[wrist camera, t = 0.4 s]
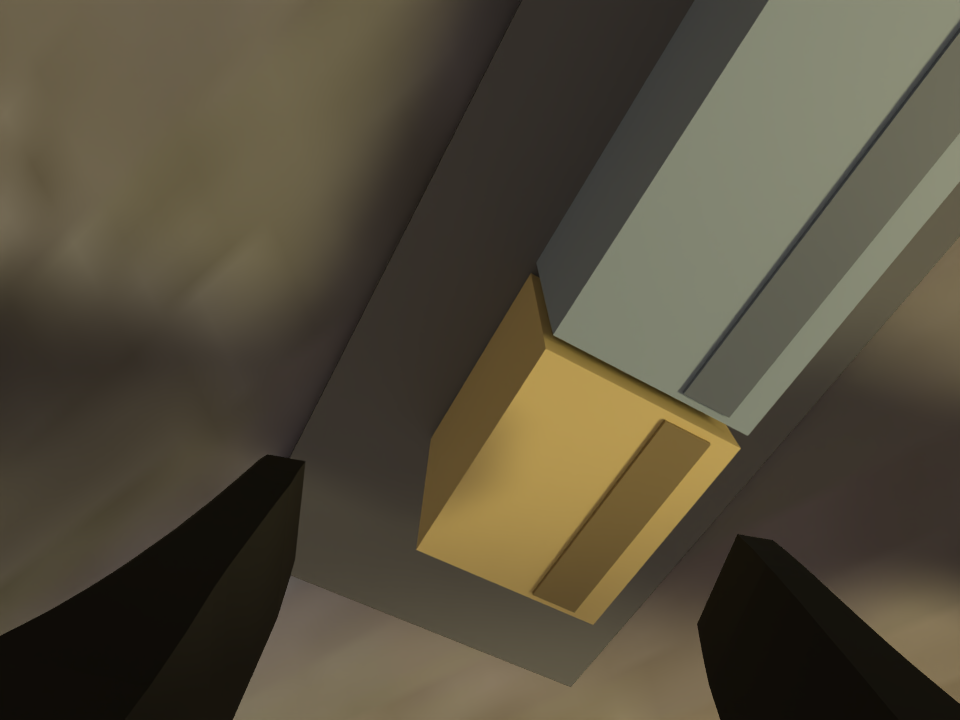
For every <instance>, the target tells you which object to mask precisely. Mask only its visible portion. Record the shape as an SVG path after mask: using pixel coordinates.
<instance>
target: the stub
mask: <svg viewBox="0 0 960 720" xmlns="http://www.w3.org/2000/svg"><path fill="white" fill-rule="evenodd" d="M740 449H741V448H740V446H739V445H738V443H737V442H736V440H735V438H734V437H733V435H732V434H731V432H730V430H729V429H728V427H727V426H726V424H724V423H722V422H720V421H718V420H716V419H714V418H712V417H710V416H708V415H706V414H705V413H703V412H701V411H699V410H697V409H695V408H693V407H691V406H689V405H687V404H685V403H683V402H681V401H679V400H677V399H676V398H674V397H672V396H670V395H668V394H666V393H664V392H662V391H660V390H658V389H656V388H654V387H652V386H650V385H648V384H647V383H645V382H643V381H641V380H639V379H637V378H635V377H633V376H631V375H629V374H627V373H625V372H623V371H621V370H620V369H618V368H616V367H614V366H612V365H610V364H608V363H606V362H604V361H602V360H600V359H598V358H596V357H594V356H592V355H591V354H589V353H587V352H585V351H583V350H581V349H579V348H577V347H575V346H573V345H571V344H569V343H567V342H565V341H563V340H562V339H560V338H558V337H556V336H554V335H553V333H552V328H551V324H550V320H549V316H548V311H547V307H546V303H545V298H544V294H543V290H542V285H541V281H540V278H539V277H537V276H535V275H533V274H532V273H531V274H530V275H529V277H528V279H527V280H526V282H525V284H524V285H523V287H522V289H521V290H520V292H519V294H518V295H517V297H516V299H515V300H514V302H513V303H512V305H511V307H510V308H509V310H508V312H507V313H506V315H505V317H504V318H503V320H502V322H501V323H500V325H499V327H498V328H497V330H496V332H495V333H494V335H493V337H492V338H491V340H490V342H489V343H488V345H487V347H486V348H485V350H484V352H483V353H482V355H481V356H480V358H479V360H478V361H477V363H476V365H475V366H474V368H473V370H472V371H471V373H470V375H469V376H468V378H467V380H466V381H465V383H464V385H463V386H462V388H461V390H460V391H459V393H458V395H457V396H456V398H455V400H454V401H453V403H452V405H451V406H450V408H449V409H448V411H447V413H446V414H445V416H444V418H443V419H442V421H441V423H440V424H439V426H438V428H437V429H436V431H435V433H434V434H433V436H432V438H431V441H430V449H429V456H428V464H427V472H426V479H425V487H424V494H423V502H422V509H421V517H420V525H419V532H418V540H417V547H416V550H418V551H420V552H423V553H425V554H427V555H430V556H432V557H434V558H437V559H439V560H441V561H444V562H446V563H448V564H451V565H453V566H455V567H458V568H460V569H463V570H465V571H467V572H470V573H472V574H474V575H477V576H479V577H481V578H484V579H486V580H488V581H491V582H493V583H496V584H498V585H500V586H503V587H505V588H507V589H510V590H512V591H514V592H517V593H519V594H521V595H524V596H526V597H529V598H531V599H533V600H536V601H538V602H540V603H543V604H545V605H547V606H550V607H552V608H554V609H557V610H559V611H561V612H564V613H566V614H569V615H571V616H573V617H576V618H578V619H580V620H583V621H585V622H587V623H590V624H592V625H594V623H595V622H596V621H597V620H598V619H599V617H600V616H601V615H602V614H603V613H604V611H605V610H606V609H607V608H608V607H609V605H610V604H611V603H612V602H613V601H614V599H615V598H616V597H617V596H618V595H619V593H620V592H621V591H622V590H623V589H624V588H625V586H626V585H627V584H628V583H629V582H630V580H631V579H632V578H633V577H634V576H635V574H636V573H637V572H638V571H639V570H640V568H641V567H642V566H643V565H644V564H645V562H646V561H647V560H648V559H649V558H650V556H651V555H652V554H653V553H654V552H655V550H656V549H657V548H658V547H659V546H660V544H661V543H662V542H663V541H664V540H665V538H666V537H667V536H668V535H669V534H670V533H671V531H672V530H673V529H674V528H675V527H676V525H677V524H678V523H679V522H680V521H681V519H682V518H683V517H684V516H685V515H686V513H687V512H688V511H689V510H690V509H691V507H692V506H693V505H694V504H695V503H696V501H697V500H698V499H699V498H700V497H701V495H702V494H703V493H704V492H705V491H706V489H707V488H708V487H709V486H710V485H711V483H712V482H713V481H714V480H715V479H716V478H717V476H718V475H719V474H720V473H721V472H722V470H723V469H724V468H725V467H726V466H727V464H728V463H729V462H730V461H731V460H732V458H733V457H734V456H735V455H736V454H737V452H738V451H739V450H740Z"/></svg>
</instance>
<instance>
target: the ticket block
mask: <svg viewBox="0 0 960 720" xmlns="http://www.w3.org/2000/svg"><path fill="white" fill-rule="evenodd" d="M959 182H960V0H694V2H693V4H692V5H691V7H690V9H689V10H688V12H687V13H686V15H685V17H684V18H683V20H682V22H681V23H680V25H679V27H678V28H677V30H676V32H675V33H674V35H673V37H672V38H671V40H670V42H669V43H668V45H667V47H666V48H665V50H664V52H663V53H662V55H661V57H660V58H659V60H658V62H657V63H656V65H655V67H654V68H653V70H652V72H651V73H650V75H649V76H648V78H647V80H646V81H645V83H644V85H643V86H642V88H641V90H640V91H639V93H638V95H637V96H636V98H635V100H634V101H633V103H632V105H631V106H630V108H629V110H628V111H627V113H626V115H625V116H624V118H623V120H622V121H621V123H620V125H619V126H618V128H617V130H616V131H615V133H614V135H613V136H612V138H611V140H610V141H609V143H608V144H607V146H606V148H605V149H604V151H603V153H602V154H601V156H600V158H599V159H598V161H597V163H596V164H595V166H594V168H593V169H592V171H591V173H590V174H589V176H588V178H587V179H586V181H585V183H584V184H583V186H582V188H581V189H580V191H579V193H578V194H577V196H576V198H575V199H574V201H573V203H572V204H571V206H570V207H569V209H568V211H567V212H566V214H565V216H564V217H563V219H562V221H561V222H560V224H559V226H558V227H557V229H556V231H555V232H554V234H553V236H552V237H551V239H550V241H549V242H548V244H547V246H546V247H545V249H544V251H543V252H542V254H541V256H540V257H539V259H538V261H537V262H536V264H537V268H538V273H539V277H540V281H541V285H542V290H543V294H544V298H545V303H546V307H547V311H548V316H549V320H550V324H551V328H552V333H553V335H554V336H556V337H558V338H560V339H562V340H563V341H565V342H567V343H569V344H571V345H573V346H575V347H577V348H579V349H581V350H583V351H585V352H587V353H589V354H591V355H592V356H594V357H596V358H598V359H600V360H602V361H604V362H606V363H608V364H610V365H612V366H614V367H616V368H618V369H620V370H621V371H623V372H625V373H627V374H629V375H631V376H633V377H635V378H637V379H639V380H641V381H643V382H645V383H647V384H648V385H650V386H652V387H654V388H656V389H658V390H660V391H662V392H664V393H666V394H668V395H670V396H672V397H674V398H676V399H677V400H679V401H681V402H683V403H685V404H687V405H689V406H691V407H693V408H695V409H697V410H699V411H701V412H703V413H705V414H706V415H708V416H710V417H712V418H714V419H716V420H718V421H720V422H722V423H724V424H726V425H728V426H730V427H732V428H733V429H735V430H737V431H739V432H741V433H743V434H745V435H747V436H748V435H749V434H750V433H751V431H752V430H753V429H754V428H755V427H756V425H757V424H758V423H759V422H760V421H761V419H762V418H763V417H764V416H765V415H766V413H767V412H768V411H769V410H770V409H771V407H772V406H773V405H774V404H775V403H776V401H777V400H778V399H779V398H780V397H781V395H782V394H783V393H784V392H785V391H786V389H787V388H788V387H789V386H790V385H791V383H792V382H793V381H794V380H795V379H796V377H797V376H798V375H799V374H800V373H801V371H802V370H803V369H804V368H805V367H806V365H807V364H808V363H809V362H810V361H811V359H812V358H813V357H814V356H815V355H816V353H817V352H818V351H819V350H820V349H821V347H822V346H823V345H824V344H825V343H826V341H827V340H828V339H829V338H830V337H831V335H832V334H833V333H834V332H835V331H836V329H837V328H838V327H839V326H840V325H841V323H842V322H843V321H844V320H845V319H846V317H847V316H848V315H849V314H850V313H851V311H852V310H853V309H854V308H855V307H856V305H857V304H858V303H859V302H860V301H861V299H862V298H863V297H864V296H865V295H866V293H867V292H868V291H869V290H870V289H871V287H872V286H873V285H874V284H875V283H876V281H877V280H878V279H879V278H880V277H881V275H882V274H883V273H884V272H885V271H886V269H887V268H888V267H889V266H890V265H891V263H892V262H893V261H894V260H895V259H896V257H897V256H898V255H899V254H900V253H901V251H902V250H903V249H904V248H905V247H906V245H907V244H908V243H909V242H910V241H911V239H912V238H913V237H914V236H915V235H916V233H917V232H918V231H919V230H920V229H921V227H922V226H923V225H924V224H925V223H926V221H927V220H928V219H929V218H930V217H931V215H932V214H933V213H934V212H935V211H936V209H937V208H938V207H939V206H940V205H941V203H942V202H943V201H944V200H945V199H946V197H947V196H948V195H949V194H950V193H951V191H952V190H953V189H954V188H955V187H956V185H957V184H958V183H959Z"/></svg>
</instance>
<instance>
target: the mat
mask: <svg viewBox="0 0 960 720" xmlns="http://www.w3.org/2000/svg"><path fill="white" fill-rule="evenodd" d="M693 2H694V0H522V1H521V3H520V5H519V7H518V9H517V11H516V13H515V15H514V17H513V19H512V21H511V23H510V25H509V27H508V29H507V31H506V33H505V35H504V37H503V39H502V41H501V43H500V45H499V47H498V48H497V50H496V52H495V54H494V56H493V58H492V60H491V62H490V64H489V66H488V68H487V70H486V72H485V74H484V76H483V78H482V80H481V82H480V84H479V86H478V88H477V90H476V92H475V94H474V96H473V98H472V100H471V102H470V104H469V106H468V108H467V110H466V112H465V113H464V115H463V117H462V119H461V121H460V123H459V125H458V127H457V129H456V131H455V133H454V135H453V137H452V139H451V141H450V143H449V145H448V147H447V149H446V151H445V153H444V155H443V157H442V159H441V161H440V163H439V165H438V167H437V169H436V171H435V173H434V175H433V177H432V179H431V180H430V182H429V184H428V186H427V188H426V190H425V192H424V194H423V196H422V198H421V200H420V202H419V204H418V206H417V208H416V210H415V212H414V214H413V216H412V218H411V220H410V222H409V224H408V226H407V228H406V230H405V232H404V234H403V236H402V238H401V240H400V242H399V244H398V245H397V247H396V249H395V251H394V253H393V255H392V257H391V259H390V261H389V263H388V265H387V267H386V269H385V271H384V273H383V275H382V277H381V279H380V281H379V283H378V285H377V287H376V289H375V291H374V293H373V295H372V297H371V299H370V301H369V303H368V305H367V307H366V309H365V311H364V312H363V314H362V316H361V318H360V320H359V322H358V324H357V326H356V328H355V330H354V332H353V334H352V336H351V338H350V340H349V342H348V344H347V346H346V348H345V350H344V352H343V354H342V356H341V358H340V360H339V362H338V364H337V366H336V368H335V370H334V372H333V374H332V376H331V377H330V379H329V381H328V383H327V385H326V387H325V389H324V391H323V393H322V395H321V397H320V399H319V401H318V403H317V405H316V407H315V409H314V411H313V413H312V415H311V417H310V419H309V421H308V423H307V425H306V427H305V429H304V431H303V433H302V435H301V437H300V439H299V441H298V442H297V444H296V446H295V448H294V450H293V452H292V454H291V456H290V459H296V460H302V461H306V462H305V471H304V480H303V490H302V499H301V509H300V518H299V528H298V537H297V546H296V556H295V562H294V565H293V569H292V572H291V575H292V576H294V577H297V578H299V579H302V580H304V581H307V582H309V583H312V584H314V585H317V586H319V587H322V588H324V589H327V590H329V591H332V592H334V593H337V594H339V595H342V596H344V597H347V598H349V599H352V600H354V601H357V602H359V603H362V604H364V605H367V606H369V607H372V608H374V609H377V610H379V611H382V612H384V613H387V614H389V615H392V616H394V617H397V618H399V619H402V620H404V621H407V622H409V623H412V624H414V625H417V626H419V627H422V628H424V629H427V630H429V631H432V632H434V633H437V634H439V635H442V636H444V637H447V638H449V639H452V640H454V641H457V642H459V643H462V644H464V645H467V646H469V647H472V648H474V649H477V650H479V651H482V652H484V653H487V654H489V655H492V656H494V657H497V658H499V659H502V660H504V661H507V662H509V663H512V664H514V665H517V666H519V667H522V668H524V669H527V670H529V671H532V672H534V673H537V674H539V675H542V676H544V677H547V678H549V679H552V680H554V681H557V682H559V683H562V684H564V685H567V686H569V687H571V686H572V685H573V684H574V683H575V682H576V681H577V679H578V678H579V677H580V676H581V675H582V674H583V672H584V671H585V670H586V669H587V668H588V667H589V665H590V664H591V663H592V662H593V661H594V660H595V659H596V657H597V656H598V655H599V654H600V653H601V652H602V650H603V649H604V648H605V647H606V646H607V645H608V643H609V642H610V641H611V640H612V639H613V638H614V636H615V635H616V634H617V633H618V632H619V631H620V630H621V628H622V627H623V626H624V625H625V624H626V623H627V621H628V620H629V619H630V618H631V617H632V616H633V614H634V613H635V612H636V611H637V610H638V609H639V608H640V606H641V605H642V604H643V603H644V602H645V601H646V599H647V598H648V597H649V596H650V595H651V594H652V592H653V591H654V590H655V589H656V588H657V587H658V585H659V584H660V583H661V582H662V581H663V580H664V579H665V577H666V576H667V575H668V574H669V573H670V572H671V570H672V569H673V568H674V567H675V566H676V565H677V563H678V562H679V561H680V560H681V559H682V558H683V557H684V555H685V554H686V553H687V552H688V551H689V550H690V548H691V547H692V546H693V545H694V544H695V543H696V541H697V540H698V539H699V538H700V537H701V536H702V535H703V533H704V532H705V531H706V530H707V529H708V528H709V526H710V525H711V524H712V523H713V522H714V521H715V519H716V518H717V517H718V516H719V515H720V514H721V512H722V511H723V510H724V509H725V508H726V507H727V506H728V504H729V503H730V502H731V501H732V500H733V499H734V497H735V496H736V495H737V494H738V493H739V492H740V490H741V489H742V488H743V487H744V486H745V485H746V484H747V482H748V481H749V480H750V479H751V478H752V477H753V475H754V474H755V473H756V472H757V471H758V470H759V468H760V467H761V466H762V465H763V464H764V463H765V461H766V460H767V459H768V458H769V457H770V456H771V455H772V453H773V452H774V451H775V450H776V449H777V448H778V446H779V445H780V444H781V443H782V442H783V441H784V439H785V438H786V437H787V436H788V435H789V434H790V433H791V431H792V430H793V429H794V428H795V427H796V426H797V424H798V423H799V422H800V421H801V420H802V419H803V417H804V416H805V415H806V414H807V413H808V412H809V410H810V409H811V408H812V407H813V406H814V405H815V404H816V402H817V401H818V400H819V399H820V398H821V397H822V395H823V394H824V393H825V392H826V391H827V390H828V388H829V387H830V386H831V385H832V384H833V383H834V382H835V380H836V379H837V378H838V377H839V376H840V375H841V373H842V372H843V371H844V370H845V369H846V368H847V366H848V365H849V364H850V363H851V362H852V361H853V360H854V358H855V357H856V356H857V355H858V354H859V353H860V351H861V350H862V349H863V348H864V347H865V346H866V344H867V343H868V342H869V341H870V340H871V339H872V337H873V336H874V335H875V334H876V333H877V332H878V331H879V329H880V328H881V327H882V326H883V325H884V324H885V322H886V321H887V320H888V319H889V318H890V317H891V315H892V314H893V313H894V312H895V311H896V310H897V309H898V307H899V306H900V305H901V304H902V303H903V302H904V300H905V299H906V298H907V297H908V296H909V295H910V293H911V292H912V291H913V290H914V289H915V288H916V286H917V285H918V284H919V283H920V282H921V281H922V280H923V278H924V277H925V276H926V275H927V274H928V273H929V271H930V270H931V269H932V268H933V267H934V266H935V264H936V263H937V262H938V261H939V260H940V259H941V258H942V256H943V255H944V254H945V253H946V252H947V251H948V249H949V248H950V247H951V246H952V245H953V244H954V242H955V241H956V240H957V239H958V238H959V237H960V182H959V183H958V184H957V185H956V187H955V188H954V189H953V190H952V191H951V193H950V194H949V195H948V196H947V197H946V199H945V200H944V201H943V202H942V203H941V205H940V206H939V207H938V208H937V209H936V211H935V212H934V213H933V214H932V215H931V217H930V218H929V219H928V220H927V221H926V223H925V224H924V225H923V226H922V227H921V229H920V230H919V231H918V232H917V233H916V235H915V236H914V237H913V238H912V239H911V241H910V242H909V243H908V244H907V245H906V247H905V248H904V249H903V250H902V251H901V253H900V254H899V255H898V256H897V257H896V259H895V260H894V261H893V262H892V263H891V265H890V266H889V267H888V268H887V269H886V271H885V272H884V273H883V274H882V275H881V277H880V278H879V279H878V280H877V281H876V283H875V284H874V285H873V286H872V287H871V289H870V290H869V291H868V292H867V293H866V295H865V296H864V297H863V298H862V299H861V301H860V302H859V303H858V304H857V305H856V307H855V308H854V309H853V310H852V311H851V313H850V314H849V315H848V316H847V317H846V319H845V320H844V321H843V322H842V323H841V325H840V326H839V327H838V328H837V329H836V331H835V332H834V333H833V334H832V335H831V337H830V338H829V339H828V340H827V341H826V343H825V344H824V345H823V346H822V347H821V349H820V350H819V351H818V352H817V353H816V355H815V356H814V357H813V358H812V359H811V361H810V362H809V363H808V364H807V365H806V367H805V368H804V369H803V370H802V371H801V373H800V374H799V375H798V376H797V377H796V379H795V380H794V381H793V382H792V383H791V385H790V386H789V387H788V388H787V389H786V391H785V392H784V393H783V394H782V395H781V397H780V398H779V399H778V400H777V401H776V403H775V404H774V405H773V406H772V407H771V409H770V410H769V411H768V412H767V413H766V415H765V416H764V417H763V418H762V419H761V421H760V422H759V423H758V424H757V425H756V427H755V428H754V429H753V430H752V431H751V433H750V434H749V435H748V436H747V435H745V434H743V433H741V432H739V431H737V430H735V429H733V428H732V427H730V426H728V425H726V426H727V427H728V429H729V430H730V432H731V434H732V435H733V437H734V438H735V440H736V442H737V443H738V445H739V446H740V448H741V449H740V450H739V451H738V452H737V454H736V455H735V456H734V457H733V458H732V460H731V461H730V462H729V463H728V464H727V466H726V467H725V468H724V469H723V470H722V472H721V473H720V474H719V475H718V476H717V478H716V479H715V480H714V481H713V482H712V483H711V485H710V486H709V487H708V488H707V489H706V491H705V492H704V493H703V494H702V495H701V497H700V498H699V499H698V500H697V501H696V503H695V504H694V505H693V506H692V507H691V509H690V510H689V511H688V512H687V513H686V515H685V516H684V517H683V518H682V519H681V521H680V522H679V523H678V524H677V525H676V527H675V528H674V529H673V530H672V531H671V533H670V534H669V535H668V536H667V537H666V538H665V540H664V541H663V542H662V543H661V544H660V546H659V547H658V548H657V549H656V550H655V552H654V553H653V554H652V555H651V556H650V558H649V559H648V560H647V561H646V562H645V564H644V565H643V566H642V567H641V568H640V570H639V571H638V572H637V573H636V574H635V576H634V577H633V578H632V579H631V580H630V582H629V583H628V584H627V585H626V586H625V588H624V589H623V590H622V591H621V592H620V593H619V595H618V596H617V597H616V598H615V599H614V601H613V602H612V603H611V604H610V605H609V607H608V608H607V609H606V610H605V611H604V613H603V614H602V615H601V616H600V617H599V619H598V620H597V621H596V622H595V623H594V625H592V624H590V623H587V622H585V621H583V620H580V619H578V618H576V617H573V616H571V615H569V614H566V613H564V612H561V611H559V610H557V609H554V608H552V607H550V606H547V605H545V604H543V603H540V602H538V601H536V600H533V599H531V598H529V597H526V596H524V595H521V594H519V593H517V592H514V591H512V590H510V589H507V588H505V587H503V586H500V585H498V584H496V583H493V582H491V581H488V580H486V579H484V578H481V577H479V576H477V575H474V574H472V573H470V572H467V571H465V570H463V569H460V568H458V567H455V566H453V565H451V564H448V563H446V562H444V561H441V560H439V559H437V558H434V557H432V556H430V555H427V554H425V553H423V552H420V551H418V550H416V547H417V540H418V532H419V525H420V517H421V509H422V502H423V494H424V487H425V479H426V472H427V464H428V456H429V449H430V441H431V438H432V436H433V434H434V433H435V431H436V429H437V428H438V426H439V424H440V423H441V421H442V419H443V418H444V416H445V414H446V413H447V411H448V409H449V408H450V406H451V405H452V403H453V401H454V400H455V398H456V396H457V395H458V393H459V391H460V390H461V388H462V386H463V385H464V383H465V381H466V380H467V378H468V376H469V375H470V373H471V371H472V370H473V368H474V366H475V365H476V363H477V361H478V360H479V358H480V356H481V355H482V353H483V352H484V350H485V348H486V347H487V345H488V343H489V342H490V340H491V338H492V337H493V335H494V333H495V332H496V330H497V328H498V327H499V325H500V323H501V322H502V320H503V318H504V317H505V315H506V313H507V312H508V310H509V308H510V307H511V305H512V303H513V302H514V300H515V299H516V297H517V295H518V294H519V292H520V290H521V289H522V287H523V285H524V284H525V282H526V280H527V279H528V277H529V275H530V274H531V273H532V274H533V275H535V276H537V277H539V273H538V268H537V264H536V262H537V261H538V259H539V257H540V256H541V254H542V252H543V251H544V249H545V247H546V246H547V244H548V242H549V241H550V239H551V237H552V236H553V234H554V232H555V231H556V229H557V227H558V226H559V224H560V222H561V221H562V219H563V217H564V216H565V214H566V212H567V211H568V209H569V207H570V206H571V204H572V203H573V201H574V199H575V198H576V196H577V194H578V193H579V191H580V189H581V188H582V186H583V184H584V183H585V181H586V179H587V178H588V176H589V174H590V173H591V171H592V169H593V168H594V166H595V164H596V163H597V161H598V159H599V158H600V156H601V154H602V153H603V151H604V149H605V148H606V146H607V144H608V143H609V141H610V140H611V138H612V136H613V135H614V133H615V131H616V130H617V128H618V126H619V125H620V123H621V121H622V120H623V118H624V116H625V115H626V113H627V111H628V110H629V108H630V106H631V105H632V103H633V101H634V100H635V98H636V96H637V95H638V93H639V91H640V90H641V88H642V86H643V85H644V83H645V81H646V80H647V78H648V76H649V75H650V73H651V72H652V70H653V68H654V67H655V65H656V63H657V62H658V60H659V58H660V57H661V55H662V53H663V52H664V50H665V48H666V47H667V45H668V43H669V42H670V40H671V38H672V37H673V35H674V33H675V32H676V30H677V28H678V27H679V25H680V23H681V22H682V20H683V18H684V17H685V15H686V13H687V12H688V10H689V9H690V7H691V5H692V4H693ZM539 278H540V277H539Z"/></svg>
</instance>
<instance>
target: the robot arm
mask: <svg viewBox="0 0 960 720" xmlns="http://www.w3.org/2000/svg"><path fill="white" fill-rule="evenodd" d="M305 462H306V461H302V460H296V459H290V458H284V457H279V456H273V455H266V456H264V457H263V458H261V459H260V460H258V461H257V462H256V463H255V464H254V465H253V466H252V467H250V468H249V469H248V470H247V471H246V472H245V473H244V474H242V475H241V476H240V477H239V478H238V479H237V480H235V481H234V482H233V483H232V484H231V485H230V486H228V487H227V488H226V489H225V490H224V491H222V492H221V493H220V494H219V495H218V496H216V497H215V498H214V499H213V500H212V501H210V502H209V503H208V504H207V505H205V506H204V507H203V508H201V509H200V510H199V511H198V512H196V513H195V514H194V515H192V516H191V517H190V518H189V519H187V520H186V521H185V522H184V523H182V524H181V525H180V526H178V527H177V528H176V529H174V530H173V531H172V532H170V533H169V534H168V535H166V536H165V537H163V538H162V539H161V540H159V541H158V542H156V543H155V544H154V545H152V546H151V547H149V548H148V549H146V550H145V551H144V552H142V553H141V554H139V555H138V556H136V557H135V558H134V559H132V560H131V561H129V562H128V563H126V564H125V565H123V566H122V567H120V568H119V569H117V570H116V571H114V572H113V573H111V574H110V575H108V576H106V577H105V578H103V579H102V580H100V581H99V582H97V583H95V584H94V585H92V586H90V587H89V588H87V589H86V590H84V591H82V592H80V593H79V594H77V595H75V596H74V597H72V598H70V599H69V600H67V601H65V602H64V603H62V604H60V605H58V606H57V607H55V608H53V609H51V610H49V611H48V612H46V613H44V614H42V615H40V616H38V617H36V618H34V619H32V620H31V621H29V622H27V623H25V624H23V625H21V626H19V627H17V628H15V629H13V630H11V631H9V632H7V633H5V634H3V635H1V636H0V720H233V718H234V716H235V713H236V711H237V709H238V706H239V704H240V702H241V700H242V697H243V695H244V693H245V691H246V688H247V686H248V684H249V682H250V679H251V677H252V675H253V672H254V670H255V668H256V666H257V663H258V661H259V659H260V656H261V654H262V652H263V650H264V647H265V645H266V643H267V640H268V638H269V636H270V634H271V631H272V629H273V627H274V624H275V622H276V620H277V617H278V614H279V611H280V607H281V604H282V601H283V598H284V595H285V592H286V588H287V585H288V582H289V578H290V575H291V572H292V569H293V565H294V562H295V556H296V546H297V537H298V528H299V518H300V509H301V499H302V490H303V480H304V471H305ZM697 626H698V631H699V637H700V642H701V648H702V654H703V659H704V664H705V668H706V673H707V678H708V682H709V686H710V689H711V692H712V696H713V699H714V702H715V705H716V708H717V711H718V714H719V717H720V720H960V704H959V703H958V702H957V701H956V700H954V699H953V698H952V697H951V696H949V695H948V694H947V693H946V692H945V691H943V690H942V689H941V688H940V687H939V686H937V685H936V684H935V683H934V682H933V681H931V680H930V679H929V678H928V677H927V676H926V675H924V674H923V673H922V672H921V671H920V670H918V669H917V668H916V667H915V666H914V665H912V664H911V663H910V662H909V661H908V660H907V659H905V658H904V657H903V656H902V655H901V654H900V653H899V652H897V651H896V650H895V649H894V648H893V647H892V646H891V645H889V644H888V643H887V642H886V641H885V640H884V639H883V638H882V637H880V636H879V635H878V634H877V633H876V632H875V631H874V630H873V629H872V628H870V627H869V626H868V625H867V624H866V623H865V622H864V621H863V620H862V619H861V618H859V617H858V616H857V615H856V614H855V613H854V612H853V611H852V610H851V609H850V608H849V607H847V606H846V605H845V604H844V603H843V602H842V601H841V600H840V599H839V598H838V597H837V596H836V595H834V594H833V593H832V592H831V591H830V590H829V589H828V588H827V587H826V586H825V585H824V584H822V583H821V582H820V581H819V580H818V579H817V578H816V577H815V576H814V575H813V574H812V573H810V572H809V571H808V570H807V569H806V568H805V567H804V566H803V565H802V564H800V563H799V562H798V561H797V560H796V559H795V558H794V557H792V556H791V555H790V554H789V553H788V552H787V551H785V550H784V549H783V548H782V547H780V546H779V545H778V544H777V543H775V542H774V541H773V540H768V539H762V538H756V537H750V536H744V535H739V534H737V537H736V539H735V541H734V543H733V546H732V548H731V550H730V552H729V554H728V557H727V559H726V561H725V563H724V566H723V568H722V570H721V572H720V574H719V577H718V579H717V581H716V583H715V586H714V588H713V590H712V592H711V594H710V597H709V599H708V601H707V603H706V606H705V608H704V610H703V612H702V615H701V617H700V619H699V621H698V623H697Z"/></svg>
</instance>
